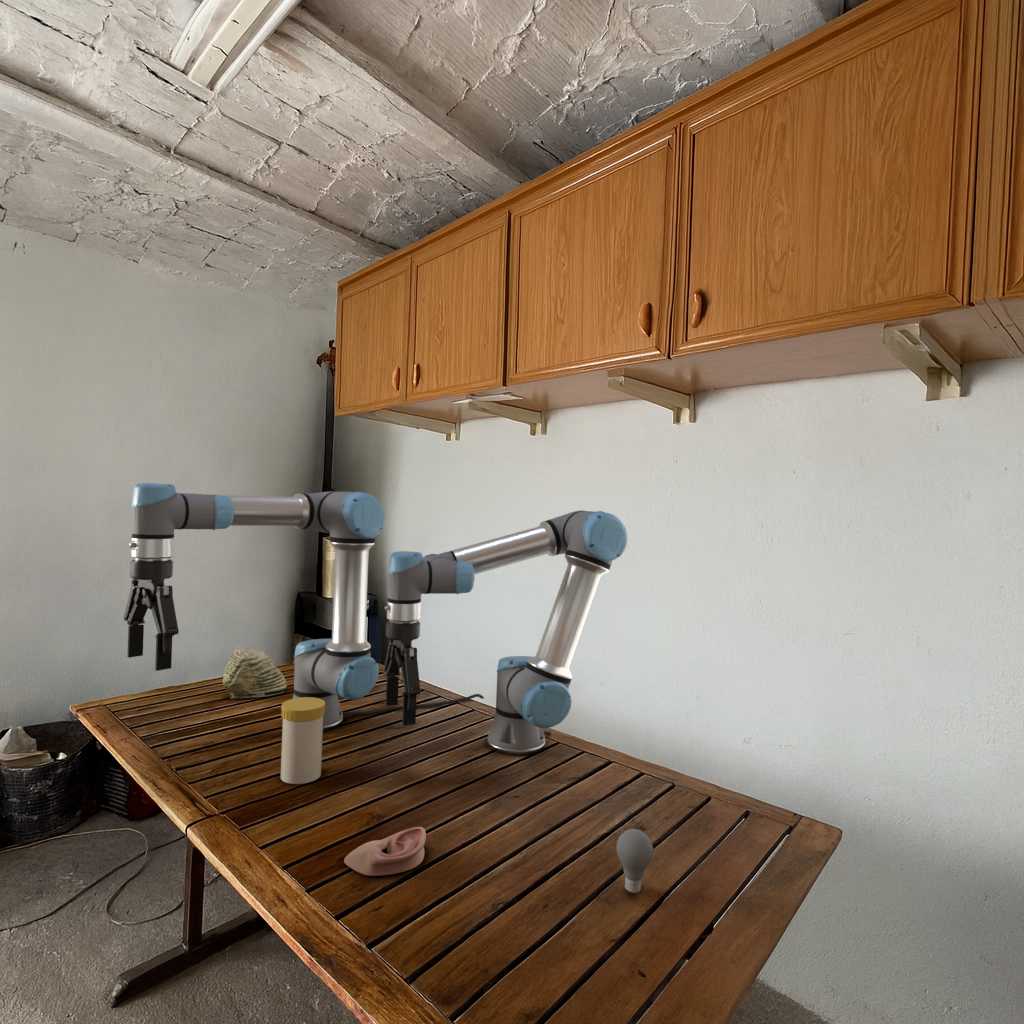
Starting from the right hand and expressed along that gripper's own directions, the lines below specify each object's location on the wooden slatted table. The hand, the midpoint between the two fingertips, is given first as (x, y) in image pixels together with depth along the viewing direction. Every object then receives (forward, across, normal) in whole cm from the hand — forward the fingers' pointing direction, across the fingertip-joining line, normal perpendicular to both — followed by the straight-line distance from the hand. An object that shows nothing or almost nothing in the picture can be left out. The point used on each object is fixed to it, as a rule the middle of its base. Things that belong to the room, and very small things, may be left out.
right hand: (399, 714), depth 143 cm
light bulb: (+15, +54, +25) cm, 61 cm away
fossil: (+15, -74, -25) cm, 79 cm away
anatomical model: (+15, +30, -11) cm, 35 cm away
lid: (-1, -10, -19) cm, 22 cm away
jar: (+15, -10, -20) cm, 27 cm away
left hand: (-13, -10, -50) cm, 53 cm away
